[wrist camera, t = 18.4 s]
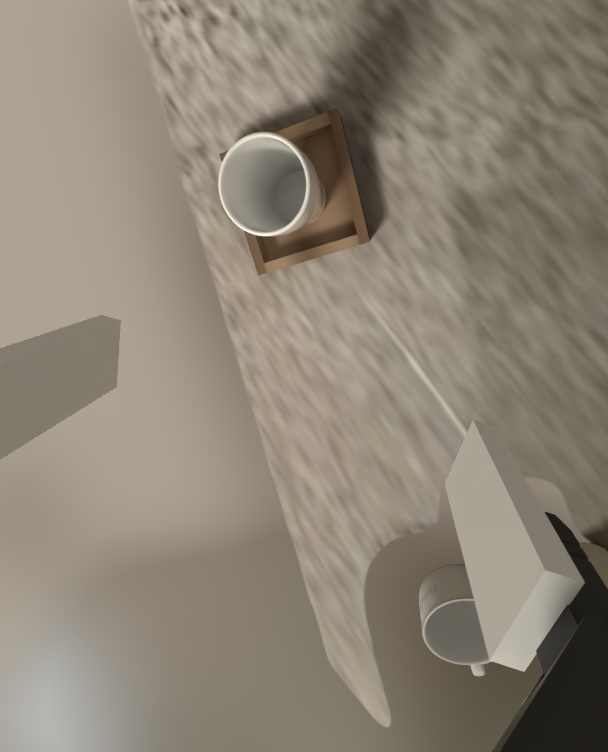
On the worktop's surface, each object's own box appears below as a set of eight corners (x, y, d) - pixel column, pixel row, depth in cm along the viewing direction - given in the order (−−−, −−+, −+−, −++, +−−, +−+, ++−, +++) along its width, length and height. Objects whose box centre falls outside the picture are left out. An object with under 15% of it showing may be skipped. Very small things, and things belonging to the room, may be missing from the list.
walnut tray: (340, 115, 40) (337, 107, 37) (370, 240, 43) (369, 241, 40) (229, 158, 43) (219, 154, 40) (265, 272, 46) (258, 275, 43)
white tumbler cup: (265, 165, 42) (209, 136, 28) (331, 157, 40) (307, 123, 27) (272, 235, 44) (223, 241, 30) (335, 230, 43) (314, 233, 29)
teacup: (415, 550, 56) (420, 600, 49) (500, 551, 54) (519, 604, 46) (419, 625, 60) (424, 681, 53) (497, 629, 58) (515, 688, 51)
